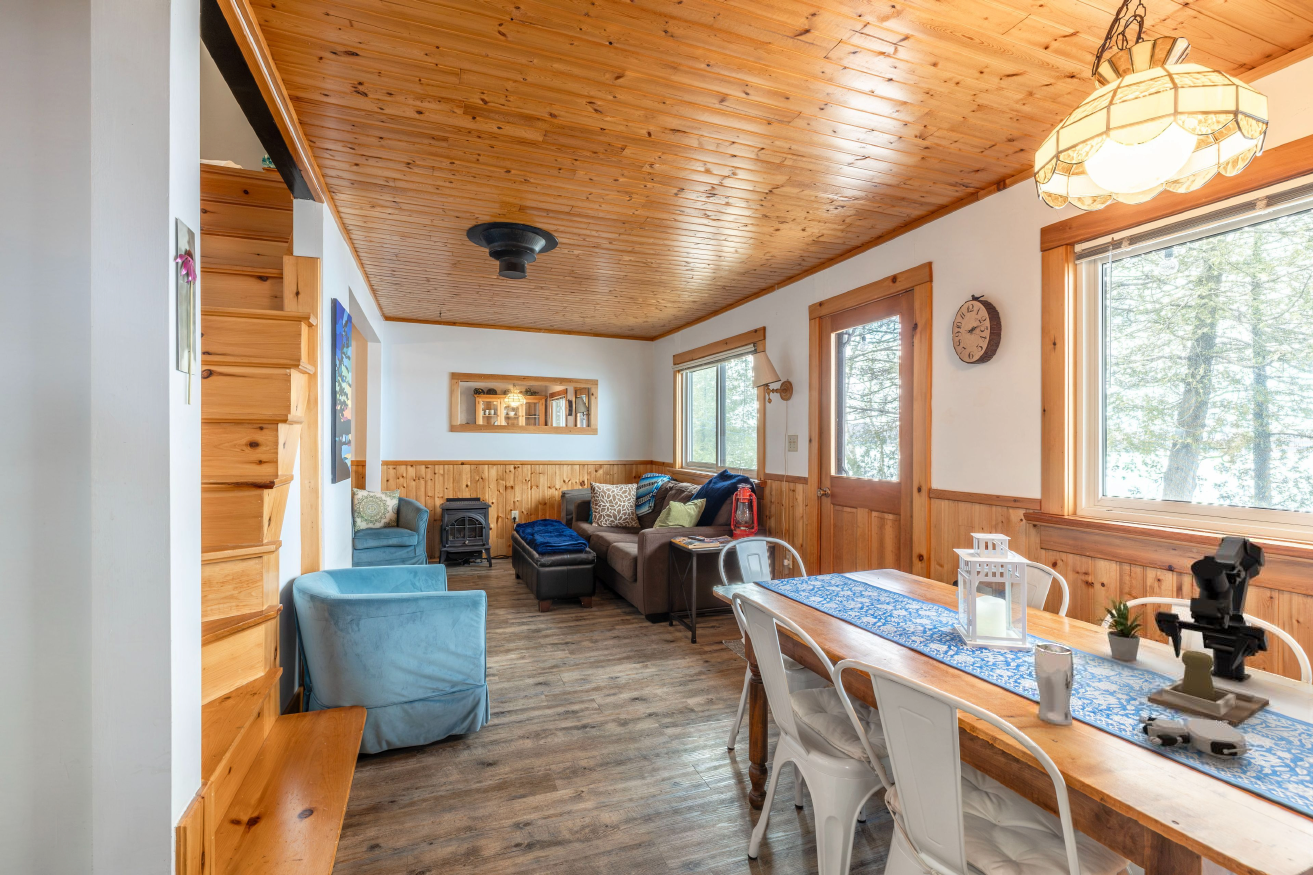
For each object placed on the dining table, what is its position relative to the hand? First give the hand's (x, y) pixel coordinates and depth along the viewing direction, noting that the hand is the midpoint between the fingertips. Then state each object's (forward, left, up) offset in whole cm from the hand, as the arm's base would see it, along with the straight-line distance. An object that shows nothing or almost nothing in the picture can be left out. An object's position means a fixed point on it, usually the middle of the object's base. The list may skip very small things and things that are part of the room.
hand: (1203, 662), depth 135 cm
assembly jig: (0, +1, -9) cm, 9 cm away
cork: (+5, 0, -8) cm, 9 cm away
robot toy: (+28, +6, -9) cm, 30 cm away
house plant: (-18, -23, -9) cm, 31 cm away
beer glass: (+37, -13, -9) cm, 40 cm away
